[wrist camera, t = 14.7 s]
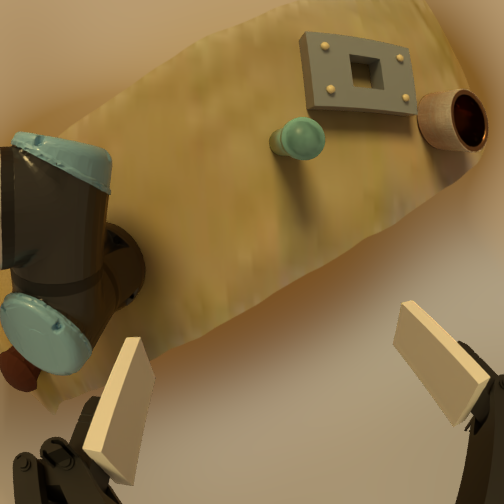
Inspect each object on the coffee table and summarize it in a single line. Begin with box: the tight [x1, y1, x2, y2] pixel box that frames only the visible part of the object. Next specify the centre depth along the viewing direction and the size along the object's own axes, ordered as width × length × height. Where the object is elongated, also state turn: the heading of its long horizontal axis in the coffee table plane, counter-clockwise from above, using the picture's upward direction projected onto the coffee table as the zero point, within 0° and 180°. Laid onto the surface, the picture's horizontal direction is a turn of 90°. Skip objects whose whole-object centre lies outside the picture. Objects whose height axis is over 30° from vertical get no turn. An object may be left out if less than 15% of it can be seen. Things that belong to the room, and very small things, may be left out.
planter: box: [417, 89, 488, 152], centre depth 35 cm, size 11×11×10 cm
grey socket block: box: [299, 31, 418, 116], centre depth 35 cm, size 18×12×5 cm, turn 95°
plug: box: [269, 117, 325, 160], centre depth 34 cm, size 5×5×12 cm
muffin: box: [0, 346, 41, 392], centre depth 44 cm, size 12×11×10 cm
